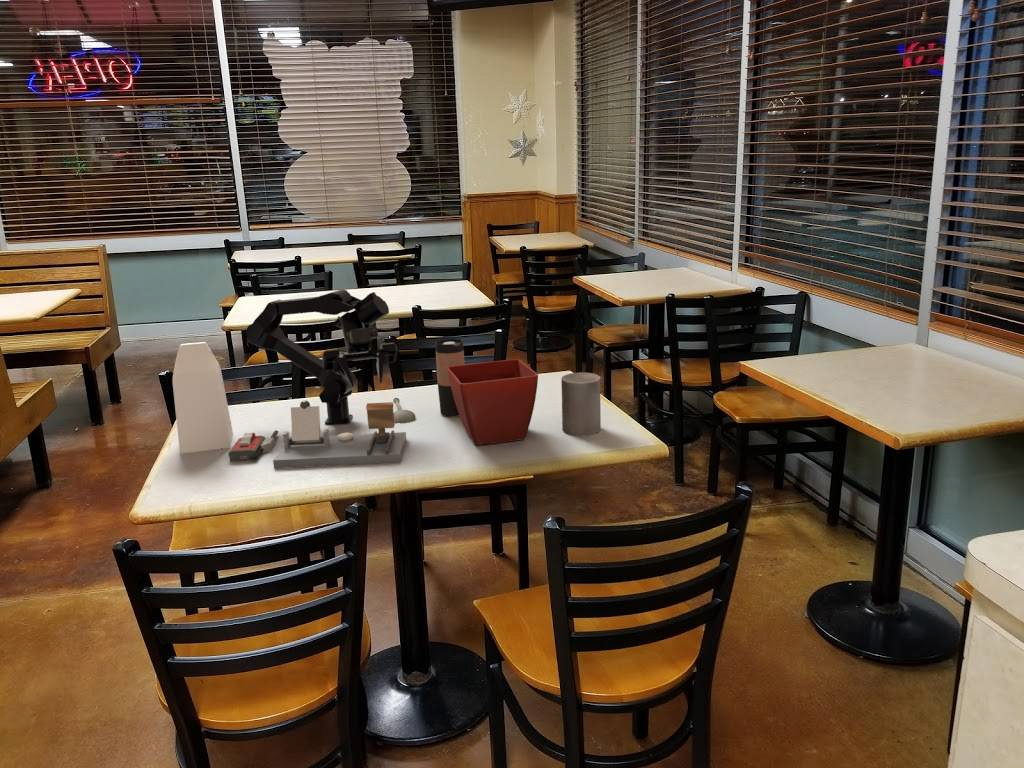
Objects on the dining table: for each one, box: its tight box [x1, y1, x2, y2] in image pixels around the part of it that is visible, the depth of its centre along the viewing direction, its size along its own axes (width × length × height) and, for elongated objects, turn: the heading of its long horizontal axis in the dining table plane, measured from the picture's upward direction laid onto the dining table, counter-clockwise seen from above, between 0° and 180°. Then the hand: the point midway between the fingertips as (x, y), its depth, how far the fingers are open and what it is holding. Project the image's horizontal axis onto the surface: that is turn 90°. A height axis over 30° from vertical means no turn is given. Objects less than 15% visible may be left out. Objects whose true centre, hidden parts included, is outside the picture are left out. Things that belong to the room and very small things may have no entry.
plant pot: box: [447, 358, 539, 446], centre depth 206 cm, size 19×19×17 cm
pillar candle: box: [560, 372, 602, 437], centre depth 208 cm, size 10×10×15 cm
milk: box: [172, 341, 234, 454], centre depth 209 cm, size 12×12×26 cm
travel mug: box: [434, 338, 466, 418], centre depth 226 cm, size 8×8×20 cm
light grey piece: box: [289, 400, 324, 445], centre depth 200 cm, size 2×8×11 cm, turn 92°
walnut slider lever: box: [365, 401, 395, 443], centre depth 201 cm, size 4×6×9 cm, turn 92°
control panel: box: [272, 428, 407, 469], centre depth 200 cm, size 16×29×6 cm, turn 92°
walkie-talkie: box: [227, 429, 279, 463], centre depth 206 cm, size 9×4×20 cm
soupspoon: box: [393, 397, 416, 424], centre depth 232 cm, size 22×3×7 cm
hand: (366, 384), depth 209 cm, fingers open, 7 cm apart
